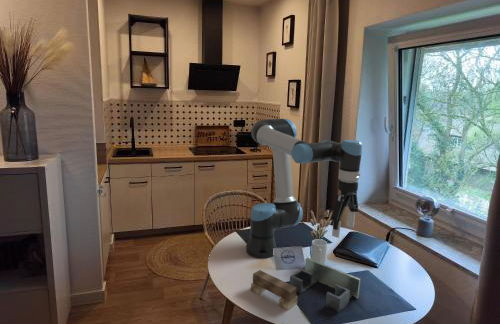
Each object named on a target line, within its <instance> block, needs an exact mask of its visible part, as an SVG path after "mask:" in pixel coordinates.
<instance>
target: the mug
mask: <svg viewBox="0 0 500 324" xmlns="http://www.w3.org/2000/svg"><path fill="white" fill-rule="evenodd" d="M327 251H328V242H327V241H326V240H324V239H321V238H317V239H313V240H312V241H311V252H310V253H311V256H310V259H312V260H315V261H317V262H320V263H322V264H325V265H326V260H327V259H326V258H327Z"/></svg>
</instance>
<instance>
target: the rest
mask: <svg viewBox="0 0 500 324" xmlns="http://www.w3.org/2000/svg"><path fill="white" fill-rule="evenodd" d="M250 291H251V292H253V293H255V294H256V295H260V294H262V293H264V292H265V291H267V290H266V289H264V288H262V287H260V286H258V285H256V284H254V283H253V282H251V284H250ZM297 304H298V295H296V298H295V299H293V300H292V301H290V302H289V301H287V300H285V299H283V298H281V297H279V299H278V305H279V307H281V308H283V309H284V310H286V311H290V309H291V308H293V307H294V306H296V305H297Z"/></svg>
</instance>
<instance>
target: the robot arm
mask: <svg viewBox="0 0 500 324" xmlns="http://www.w3.org/2000/svg"><path fill="white" fill-rule="evenodd" d="M251 137H252V139H253V140H254V142H256V143H257V144H258V145H261V146H268V147H269V148H270V149H271V150H272V156H273V159H272V160H273V161H272V162H273V172H274V173H273V174H274V186H275V198H274V199H273V203H272V202H260V203H257V204H255V205H254V206H252V208H251V210H250V211H251V212H250V228H249V229H250V231H249V232H250V233H249V234H250V235H249V238H248V241H247V243H246V246H245V251H246V254H248V255H249V256H251V257H254V258H257V259H268V258H272V257H274V256H273V248H277V249H278V246H277V244H276V239H275V231H276V230H280V229H286V228H292V227H294V226H297V225H298V224H300V222H301V221H302V219H303V213H304V212H303V207H301V206H302V205H301V204H300V203H299V202H298V200H297V199H296V197H294V189H293V188H294V186H293V173H292V161H291V160H293V161H294V162H295V164H303V165H304V164H310V163H311V164H312V163H318V162H319V163H321V162H329V161H332V162H337V163H339V169H338V181H337V190H339V191H340V194H337V195H336V197H335V202H334V206H333V209H332V213H331V216H330V221H332V222H333V223H332V232H331V236H332V237H334V238H340V234H341V233H340V232H341V224H342V222H341V218H342V216H343V213H344V211H345V209H346V207H347V206H348V209H349V210H348V211H347V212H348V213H347V220H346V222H347V223H346V226H347V227H350V228H354V227H355V219H356V213H358V212H359V202H358V189H359V178H360V177H361V173H360V171H361V170H360V168H361V161H362V154H363V144H362V142H361V141H359V140H353V139H344V140H342V142H336V141H333V140H322V141H321V142H307V141H304V140H302V139H299V138H297V137H298V136H297V127H296V125H295V123H294V122H293V120H291V119H288V118H270V119H269V118H268V119H266V118H265V119H260V120H258V121H256V122H255V123H254V124H253V126H252V127H251Z"/></svg>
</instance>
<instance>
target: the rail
mask: <svg viewBox="0 0 500 324" xmlns="http://www.w3.org/2000/svg"><path fill="white" fill-rule="evenodd" d="M252 283H254V284H256V285H258V286H260V287H262V288H264V289H266V290H265V291H268V292H270V293H271V294H273V295H276V296H278V297H279V298H283V299H285V300H287V301H289V302H290V301H292V300H293V299H295V298H296V296H297V292H296V291H297V288H296V287H294V286H292V285H290V283H288V282H285V281H283V280H282V279H280V278H278V277H275V276H273V275H271V274H269V273H267V272H266V271H262V270H261V269H259V270H257V271H255V272H253V274H252Z"/></svg>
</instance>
